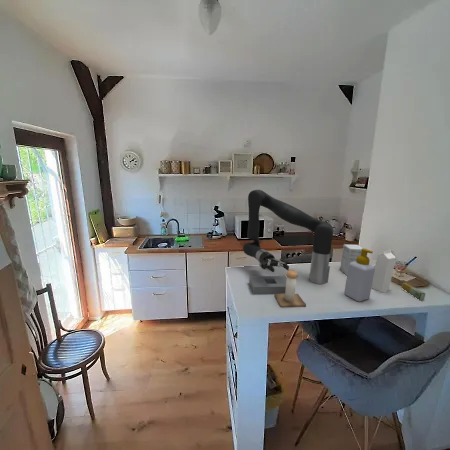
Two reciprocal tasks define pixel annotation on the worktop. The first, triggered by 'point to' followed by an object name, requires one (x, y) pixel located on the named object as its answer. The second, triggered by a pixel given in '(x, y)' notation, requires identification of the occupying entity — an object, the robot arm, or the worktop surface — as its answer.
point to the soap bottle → (360, 277)
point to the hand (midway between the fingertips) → (281, 269)
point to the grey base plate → (268, 284)
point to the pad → (283, 303)
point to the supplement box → (349, 256)
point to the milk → (383, 271)
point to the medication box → (413, 291)
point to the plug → (290, 285)
